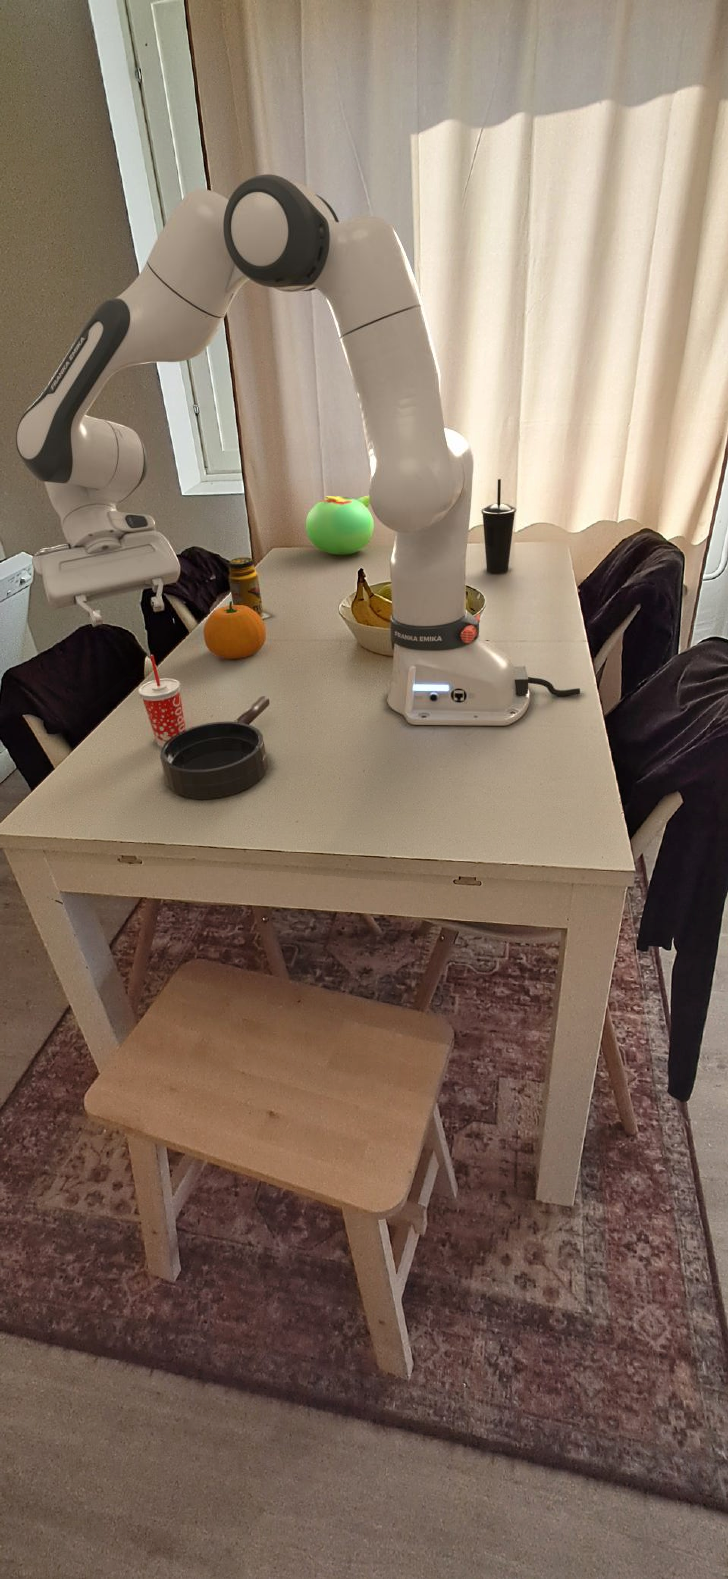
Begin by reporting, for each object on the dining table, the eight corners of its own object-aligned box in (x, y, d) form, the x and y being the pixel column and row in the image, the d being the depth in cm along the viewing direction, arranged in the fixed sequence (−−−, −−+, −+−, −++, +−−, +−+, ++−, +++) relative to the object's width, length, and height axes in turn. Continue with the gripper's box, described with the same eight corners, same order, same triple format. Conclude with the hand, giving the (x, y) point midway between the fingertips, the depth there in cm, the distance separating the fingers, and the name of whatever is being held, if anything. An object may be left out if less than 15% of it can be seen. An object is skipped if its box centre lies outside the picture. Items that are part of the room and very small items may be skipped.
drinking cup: (516, 574, 174) (519, 481, 163) (482, 576, 174) (483, 484, 164) (511, 564, 180) (514, 474, 170) (479, 566, 181) (479, 477, 170)
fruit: (233, 637, 153) (225, 588, 148) (280, 645, 148) (273, 594, 142) (194, 659, 145) (184, 608, 140) (242, 668, 140) (233, 615, 134)
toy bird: (296, 556, 200) (289, 498, 192) (339, 540, 211) (334, 484, 203) (348, 565, 190) (342, 504, 182) (390, 548, 200) (387, 489, 192)
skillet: (284, 754, 111) (280, 726, 109) (237, 806, 100) (232, 777, 98) (200, 743, 116) (194, 717, 114) (147, 792, 105) (139, 764, 103)
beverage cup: (171, 753, 114) (150, 666, 107) (143, 744, 117) (121, 659, 110) (200, 735, 118) (181, 650, 111) (172, 727, 121) (152, 644, 114)
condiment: (270, 616, 162) (262, 560, 156) (234, 626, 159) (224, 569, 152) (255, 608, 168) (247, 553, 161) (220, 618, 164) (210, 562, 158)
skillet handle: (242, 735, 112) (240, 724, 111) (231, 734, 112) (229, 723, 111) (272, 705, 119) (270, 694, 118) (262, 704, 120) (260, 693, 119)
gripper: (25, 539, 111) (57, 622, 109) (162, 514, 119) (194, 590, 117) (29, 564, 117) (60, 643, 114) (159, 538, 124) (191, 611, 122)
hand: (129, 616), depth 116 cm, fingers open, 8 cm apart
